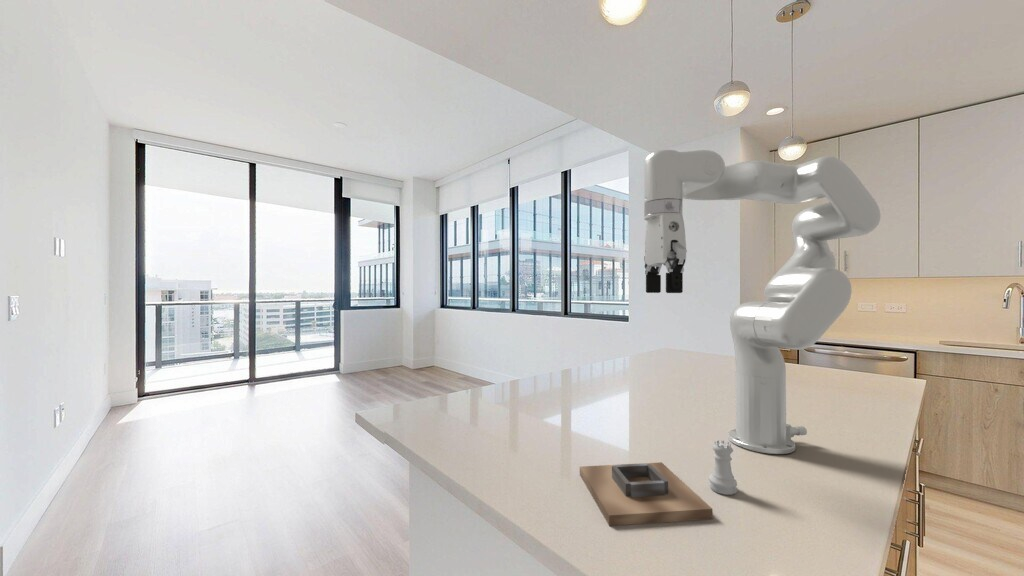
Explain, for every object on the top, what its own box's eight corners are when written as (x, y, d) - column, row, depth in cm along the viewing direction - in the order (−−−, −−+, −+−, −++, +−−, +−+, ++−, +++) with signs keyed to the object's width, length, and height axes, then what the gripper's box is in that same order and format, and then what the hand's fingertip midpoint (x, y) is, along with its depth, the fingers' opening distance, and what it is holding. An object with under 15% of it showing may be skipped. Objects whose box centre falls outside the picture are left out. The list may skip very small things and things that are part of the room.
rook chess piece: (703, 483, 70) (702, 438, 70) (727, 482, 70) (726, 437, 70) (718, 497, 65) (717, 448, 65) (743, 495, 65) (743, 447, 66)
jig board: (661, 470, 75) (661, 451, 75) (712, 518, 59) (712, 495, 59) (579, 474, 73) (579, 455, 73) (609, 525, 57) (608, 501, 57)
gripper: (702, 202, 74) (702, 293, 74) (662, 219, 92) (662, 292, 91) (664, 202, 74) (664, 293, 74) (630, 219, 91) (630, 292, 91)
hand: (663, 292), depth 83 cm, fingers open, 9 cm apart
